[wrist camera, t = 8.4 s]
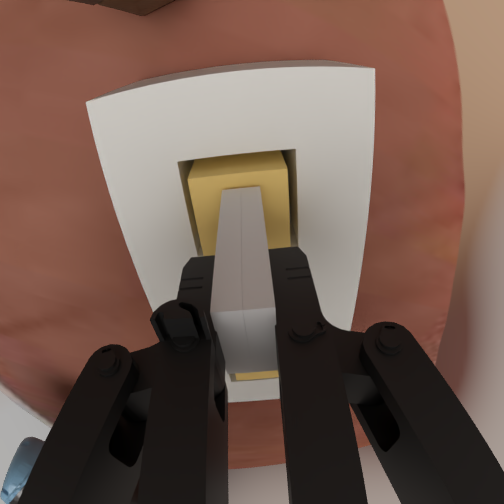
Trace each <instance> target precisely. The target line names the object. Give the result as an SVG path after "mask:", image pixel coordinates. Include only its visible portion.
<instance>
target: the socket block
mask: <svg viewBox="0 0 504 504" xmlns="http://www.w3.org/2000/svg"><path fill="white" fill-rule="evenodd" d="M86 105H87V110H88V114H89V119H90V123H91V127H92V131H93V135H94V139H95V143H96V147H97V151H98V155H99V158H100V162H101V165H102V169H103V173H104V176H105V179H106V183H107V186H108V189H109V193H110V196H111V199H112V202H113V205H114V209H115V212H116V215H117V218H118V221H119V224H120V227H121V230H122V232H123V235H124V238H125V241H126V244H127V247H128V249H129V252H130V255H131V257H132V260H133V263H134V265H135V268H136V271H137V273H138V276H139V278H140V281H141V284H142V286H143V289H144V291H145V293H146V296H147V298H148V301H149V303H150V306H151V308H152V310H153V312H154V311H155V310H156V309H157V308H158V307H159V306H160V305H162V304H164V303H166V302H168V301H170V300H175V299H177V294H178V291H179V284H180V281H181V274H182V270H183V267H184V266H185V264H186V263H187V262H188V261H189V259H190V258H191V257H201V256H203V251H202V247H201V242H200V238H199V233H198V228H197V224H196V219H195V214H194V209H193V205H192V200H191V195H190V190H189V185H188V180H187V179H188V176H189V174H190V171H191V168H192V165H193V163H194V160H195V159H200V158H207V157H215V156H224V155H232V154H242V153H251V152H262V151H274V150H281V153H282V156H283V158H284V161H285V163H286V166H287V169H288V189H289V214H290V245H291V247H296V246H298V247H299V248H300V249H301V250H302V251H303V252H304V253H305V254H306V256H307V259H308V263H309V268H310V270H311V274H312V278H313V281H314V285H315V289H316V293H317V296H318V300H319V304H320V308H321V311H322V314H323V316H324V317H325V319H326V320H327V321H328V322H329V323H331V324H332V325H333V326H335V327H337V328H340V329H343V330H347V331H350V329H351V324H352V319H353V314H354V309H355V303H356V298H357V292H358V286H359V280H360V273H361V267H362V260H363V253H364V245H365V238H366V230H367V221H368V212H369V202H370V191H371V179H372V166H373V149H374V126H375V68H370V67H365V66H360V65H355V64H349V63H343V62H337V61H330V60H287V61H268V62H254V63H243V64H233V65H225V66H217V67H210V68H203V69H196V70H190V71H184V72H179V73H173V74H168V75H163V76H158V77H154V78H149V79H145V80H140V81H137V82H134V83H132V84H129V85H126V86H124V87H121V88H118V89H116V90H113V91H111V92H108V93H106V94H103V95H101V96H99V97H96V98H94V99H92V100H89V101H87V102H86ZM225 382H226V385H227V389H228V402H244V401H258V400H270V399H280V392H279V377H275V378H264V379H252V380H238V381H237V380H236V376H235V374H227V371H226V368H225Z"/></svg>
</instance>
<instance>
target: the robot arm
mask: <svg viewBox="0 0 504 504" xmlns="http://www.w3.org/2000/svg"><path fill="white" fill-rule="evenodd" d="M150 321H151V324H152V326H153V328H154V330H155V332H156V334H157V336H158V338H159V341H160V342H158V343H157V344H155V345H153V346H150V347H148V348H145V349H141V350H138V351H135V352H131V353H130V352H129V351H128V350H127V349H126V348H125V347H123V346H121V345H114V344H110V345H107V346H104V347H101V348H100V349H98V350H97V351H95V352H94V353H93V355H92V356H91V357H90V358H89V360H88V362H87V363H86V365H85V367H84V369H83V370H82V372H81V374H80V376H79V378H78V379H77V381H76V383H75V385H74V387H73V388H72V390H71V392H70V394H69V396H68V398H67V399H66V401H65V403H64V405H63V407H62V409H61V411H60V413H59V415H58V417H57V419H56V421H55V422H54V424H53V426H52V428H51V430H50V432H49V434H48V436H47V439H46V441H42V440H40V439H38V438H35V437H28V438H25V439H24V440H23V441H22V442H21V444H20V445H19V447H18V449H17V451H16V453H15V455H14V457H13V460H12V462H11V464H10V467H9V469H8V472H7V474H6V477H5V480H4V484H3V488H2V491H1V496H0V497H1V499H2V500H3V501H4V502H5V503H6V504H228V389H227V385H226V382H225V368H226V371H227V374H236V373H250V372H263V371H274V370H278V375H279V392H280V401H281V412H282V423H283V434H284V445H285V457H286V468H287V481H288V493H289V504H368V502H367V496H366V490H365V484H364V478H363V473H362V467H361V462H360V457H359V452H358V446H357V441H356V436H355V431H354V427H353V422H352V417H351V412H350V408H349V403H350V405H351V407H352V409H353V411H354V413H355V415H356V417H357V419H358V420H359V422H360V424H361V426H362V428H363V430H364V432H365V434H366V436H367V438H368V440H369V442H370V443H371V445H372V447H373V449H374V451H375V453H376V455H377V457H378V459H379V461H380V463H381V465H382V467H383V469H384V471H385V473H386V474H387V476H388V478H389V480H390V482H391V484H392V486H393V488H394V490H395V492H396V494H397V496H398V498H399V500H400V502H401V504H504V471H503V470H502V468H501V466H500V464H499V463H498V461H497V459H496V458H495V456H494V454H493V453H492V451H491V449H490V448H489V446H488V444H487V443H486V441H485V440H484V438H483V437H482V435H481V433H480V432H479V430H478V428H477V427H476V425H475V424H474V422H473V421H472V419H471V418H470V416H469V415H468V413H467V412H466V410H465V409H464V407H463V406H462V404H461V403H460V401H459V400H458V398H457V397H456V395H455V394H454V392H453V391H452V389H451V388H450V386H449V385H448V384H447V382H446V381H445V379H444V378H443V376H442V375H441V374H440V372H439V371H438V369H437V368H436V367H435V365H434V364H433V362H432V361H431V360H430V358H429V357H428V356H427V354H426V353H425V351H424V350H423V349H422V347H421V346H420V345H419V343H418V342H417V341H416V339H415V338H414V337H413V335H412V334H411V333H410V332H409V331H408V330H407V329H406V328H405V327H404V326H401V325H399V324H397V323H394V322H386V321H385V322H380V323H376V324H374V325H372V326H371V327H369V328H368V329H367V331H366V332H365V333H362V332H354V331H347V330H343V329H340V328H337V327H335V326H333V325H332V324H331V323H329V322H328V321H327V320H326V319H325V317H324V316H323V314H322V311H321V308H320V304H319V300H318V296H317V293H316V289H315V285H314V281H313V278H312V274H311V270H310V268H309V263H308V259H307V256H306V254H305V253H304V252H303V251H302V250H301V249H300V248H299V247H298V246H296V247H285V248H274V249H268V244H267V236H266V228H265V220H264V213H263V205H262V198H261V190H260V186H256V187H246V188H236V189H227V190H222V195H221V204H220V213H219V222H218V232H217V241H216V252H215V255H211V256H201V257H191V258H190V259H189V261H188V262H187V263H186V264H185V266H184V267H183V270H182V274H181V281H180V284H179V291H178V294H177V299H175V300H170V301H168V302H166V303H164V304H162V305H160V306H159V307H158V308H157V309H156V310H155V311H154V312H153V314H152V316H151V318H150Z"/></svg>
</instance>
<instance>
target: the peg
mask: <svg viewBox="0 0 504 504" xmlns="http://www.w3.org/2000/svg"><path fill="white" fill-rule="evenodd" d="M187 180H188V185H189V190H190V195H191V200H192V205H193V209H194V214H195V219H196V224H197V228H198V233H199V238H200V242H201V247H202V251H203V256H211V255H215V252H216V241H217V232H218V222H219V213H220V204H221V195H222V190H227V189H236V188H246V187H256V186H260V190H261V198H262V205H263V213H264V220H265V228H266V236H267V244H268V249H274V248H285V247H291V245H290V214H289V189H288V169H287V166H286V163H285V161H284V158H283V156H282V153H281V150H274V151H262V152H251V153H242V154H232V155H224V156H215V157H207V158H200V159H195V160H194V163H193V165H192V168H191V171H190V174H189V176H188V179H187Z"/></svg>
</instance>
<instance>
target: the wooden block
mask: <svg viewBox="0 0 504 504" xmlns="http://www.w3.org/2000/svg"><path fill="white" fill-rule="evenodd" d="M69 1H75V2H80V3H85V4H90V5H95V4H99V5H102V6H106V7H110V8H114V9H118V10H122V11H125V12H129V13H133V14H136V15H139V16H143V15H146V14H148V13H150V12H152V11H154V10H156V9H158V8H160V7H162V6H164V5H166V4H168V3H170V2H172V1H174V0H69Z"/></svg>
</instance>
